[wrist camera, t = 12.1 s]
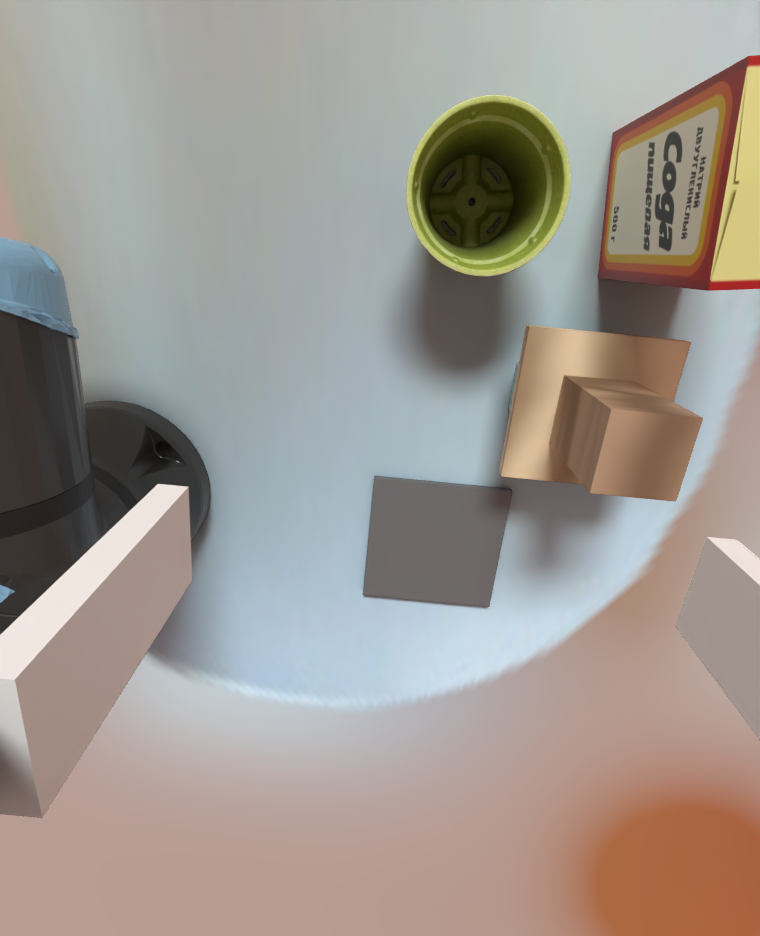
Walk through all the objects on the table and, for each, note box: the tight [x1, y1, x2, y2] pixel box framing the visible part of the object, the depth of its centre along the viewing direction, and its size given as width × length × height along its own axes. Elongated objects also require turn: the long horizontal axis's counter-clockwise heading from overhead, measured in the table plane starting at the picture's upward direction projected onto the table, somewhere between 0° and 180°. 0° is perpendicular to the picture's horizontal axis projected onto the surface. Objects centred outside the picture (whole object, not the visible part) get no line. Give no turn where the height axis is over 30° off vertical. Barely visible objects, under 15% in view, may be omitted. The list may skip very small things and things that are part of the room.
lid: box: [499, 325, 703, 501], centre depth 35 cm, size 11×11×10 cm
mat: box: [363, 476, 512, 607], centre depth 49 cm, size 12×12×1 cm
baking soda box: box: [598, 55, 760, 291], centre depth 32 cm, size 10×6×16 cm
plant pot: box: [406, 95, 571, 276], centre depth 35 cm, size 9×9×9 cm
